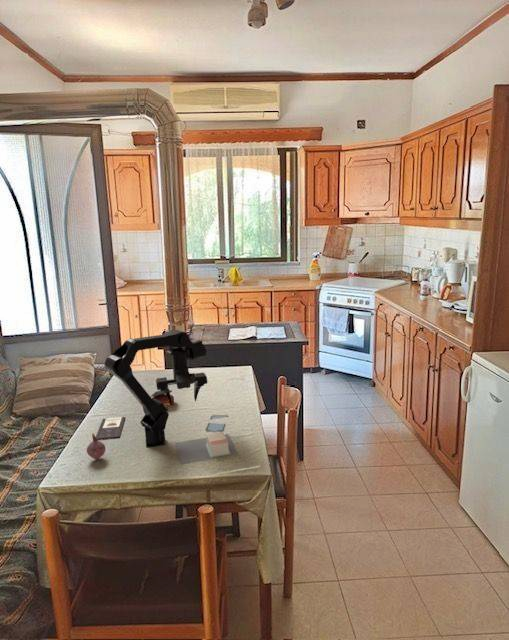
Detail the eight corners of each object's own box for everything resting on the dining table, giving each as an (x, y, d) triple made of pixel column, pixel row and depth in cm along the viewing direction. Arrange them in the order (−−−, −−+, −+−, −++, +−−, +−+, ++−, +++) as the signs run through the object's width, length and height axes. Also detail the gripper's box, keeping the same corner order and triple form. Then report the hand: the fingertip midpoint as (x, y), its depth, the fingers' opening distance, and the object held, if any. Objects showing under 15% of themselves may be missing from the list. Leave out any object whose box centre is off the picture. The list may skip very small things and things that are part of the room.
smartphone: (229, 415, 193) (223, 431, 178) (229, 417, 193) (223, 433, 178) (211, 415, 194) (204, 431, 179) (211, 417, 194) (204, 433, 179)
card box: (207, 444, 169) (206, 433, 168) (223, 441, 170) (222, 431, 169) (211, 456, 160) (210, 445, 159) (228, 453, 162) (228, 442, 161)
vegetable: (90, 455, 165) (87, 429, 163) (108, 454, 165) (105, 428, 163) (85, 464, 159) (82, 437, 157) (104, 463, 159) (101, 436, 157)
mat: (180, 465, 156) (180, 464, 156) (175, 443, 171) (174, 442, 171) (238, 455, 161) (238, 453, 161) (228, 435, 176) (228, 433, 176)
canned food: (153, 418, 205) (141, 399, 203) (163, 406, 214) (151, 388, 212) (173, 408, 201) (161, 390, 199) (182, 397, 210) (170, 379, 208)
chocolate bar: (94, 438, 176) (102, 418, 194) (95, 441, 176) (103, 420, 194) (119, 436, 177) (125, 416, 195) (119, 438, 178) (125, 418, 195)
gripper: (156, 373, 165) (160, 414, 168) (208, 366, 169) (211, 406, 173) (154, 363, 175) (157, 402, 179) (203, 357, 180) (206, 395, 183)
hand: (183, 402), depth 178 cm, fingers open, 9 cm apart
